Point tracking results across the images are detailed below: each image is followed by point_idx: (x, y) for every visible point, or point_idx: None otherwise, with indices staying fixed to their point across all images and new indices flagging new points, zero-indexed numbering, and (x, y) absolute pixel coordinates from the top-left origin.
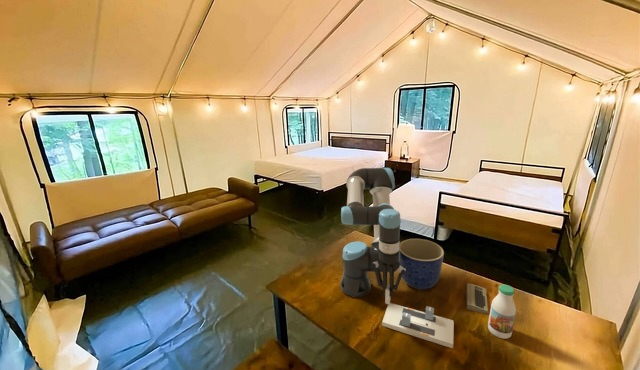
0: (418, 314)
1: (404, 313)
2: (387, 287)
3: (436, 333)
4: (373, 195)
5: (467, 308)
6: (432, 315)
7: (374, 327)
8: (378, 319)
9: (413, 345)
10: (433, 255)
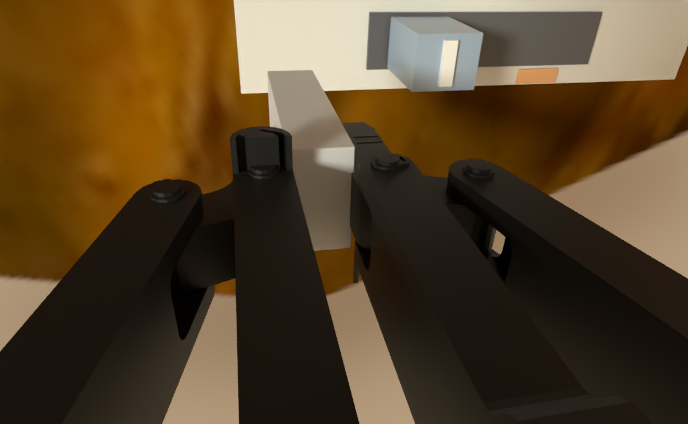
0: None
1: (429, 48)
2: (307, 194)
3: (604, 35)
4: None
5: None
6: None
7: (194, 119)
8: (191, 30)
9: (449, 143)
10: None
